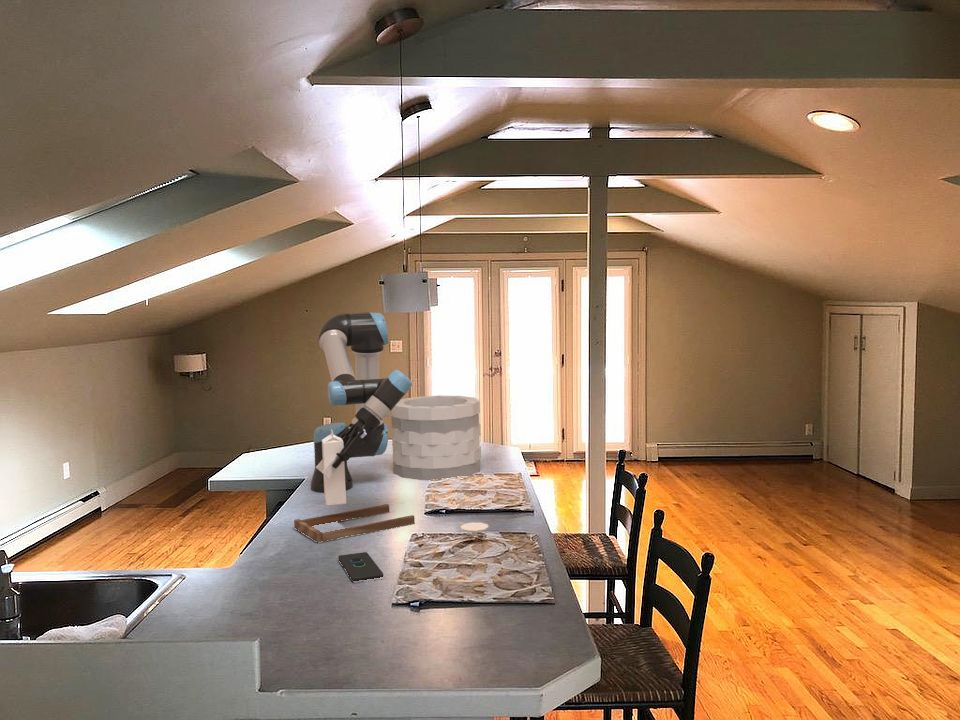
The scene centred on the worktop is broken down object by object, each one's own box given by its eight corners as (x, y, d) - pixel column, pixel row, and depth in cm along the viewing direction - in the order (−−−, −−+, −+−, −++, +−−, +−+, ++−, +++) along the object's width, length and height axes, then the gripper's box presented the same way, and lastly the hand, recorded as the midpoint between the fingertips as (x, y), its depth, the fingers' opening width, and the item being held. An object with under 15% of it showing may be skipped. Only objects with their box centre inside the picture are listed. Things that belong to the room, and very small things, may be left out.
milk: (344, 499, 261) (341, 428, 259) (346, 503, 256) (343, 431, 254) (324, 500, 260) (321, 429, 258) (325, 505, 254) (322, 432, 252)
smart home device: (367, 551, 234) (384, 574, 216) (367, 557, 235) (385, 580, 216) (337, 555, 232) (352, 578, 213) (337, 561, 232) (352, 585, 213)
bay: (294, 529, 261) (294, 519, 261) (387, 511, 279) (387, 502, 278) (317, 543, 246) (317, 533, 246) (414, 523, 264) (414, 514, 264)
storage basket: (482, 459, 355) (480, 394, 352) (480, 479, 320) (478, 407, 317) (398, 461, 356) (396, 396, 353) (387, 481, 321) (384, 409, 318)
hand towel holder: (452, 546, 228) (443, 524, 248) (452, 562, 228) (444, 539, 249) (514, 541, 231) (500, 520, 251) (514, 557, 231) (501, 534, 251)
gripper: (391, 426, 253) (339, 487, 248) (371, 417, 271) (323, 473, 266) (373, 410, 250) (321, 471, 245) (354, 402, 268) (305, 459, 263)
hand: (322, 472), depth 255 cm, fingers closed on milk, 7 cm apart
